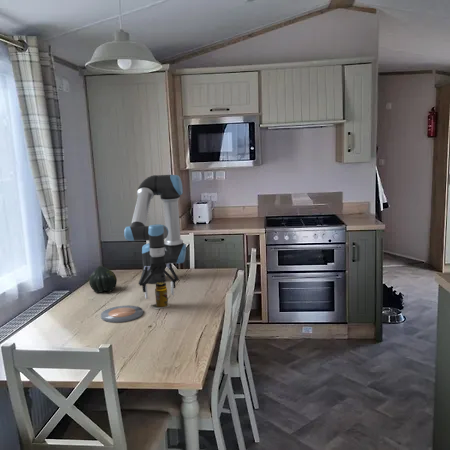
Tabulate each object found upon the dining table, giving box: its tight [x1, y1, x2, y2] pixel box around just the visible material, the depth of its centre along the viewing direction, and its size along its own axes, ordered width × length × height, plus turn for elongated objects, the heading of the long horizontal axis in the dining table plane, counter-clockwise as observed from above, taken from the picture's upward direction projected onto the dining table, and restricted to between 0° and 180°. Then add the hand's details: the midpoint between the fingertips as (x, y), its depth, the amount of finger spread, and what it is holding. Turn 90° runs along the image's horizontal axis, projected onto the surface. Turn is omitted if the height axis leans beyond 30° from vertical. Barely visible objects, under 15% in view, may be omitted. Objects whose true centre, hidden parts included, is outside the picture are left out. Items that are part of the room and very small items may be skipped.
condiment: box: [149, 281, 171, 310], centre depth 231 cm, size 7×8×12 cm
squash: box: [88, 265, 118, 293], centre depth 260 cm, size 14×15×15 cm
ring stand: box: [100, 304, 144, 323], centre depth 221 cm, size 20×20×1 cm
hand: (159, 296), depth 231 cm, fingers open, 13 cm apart
